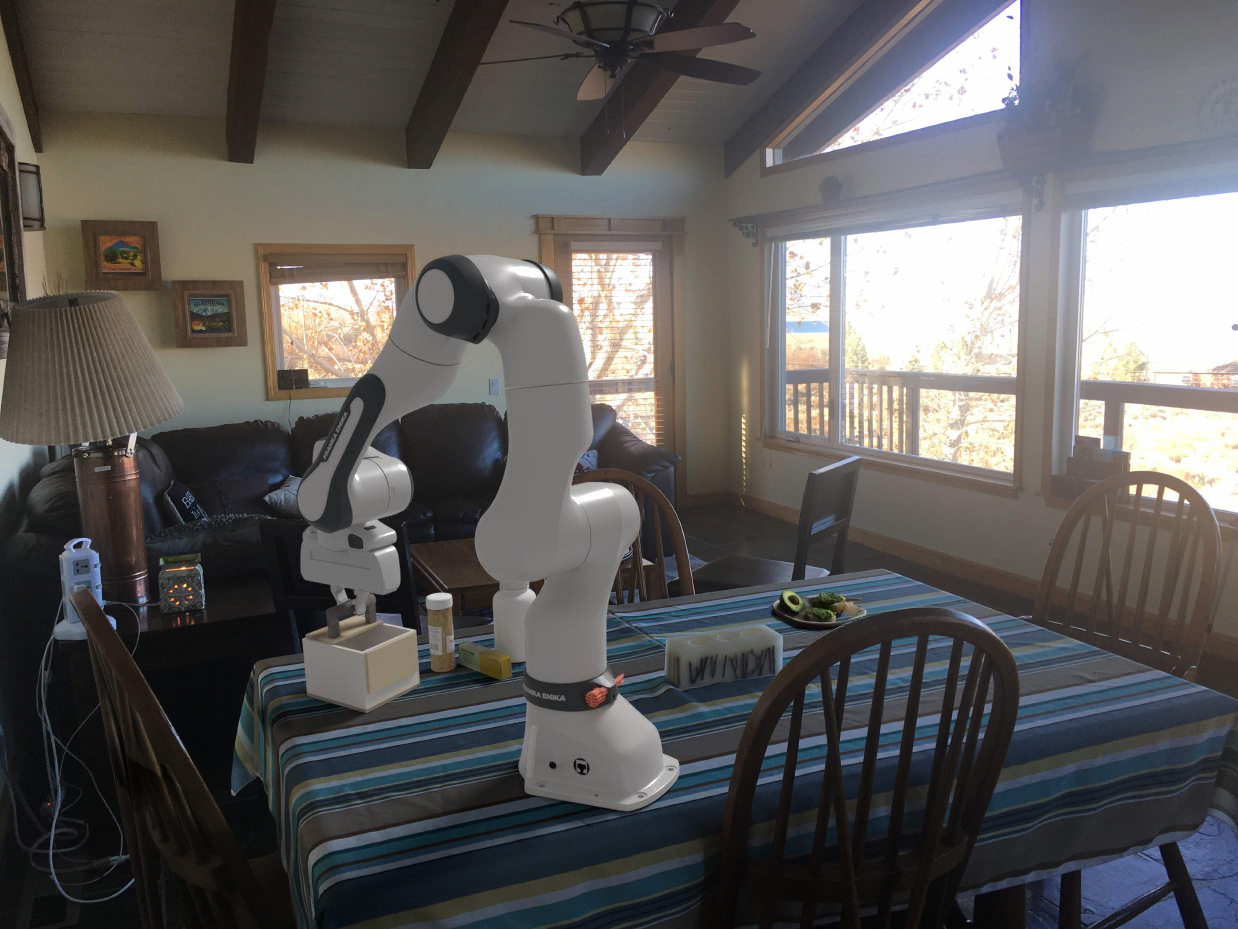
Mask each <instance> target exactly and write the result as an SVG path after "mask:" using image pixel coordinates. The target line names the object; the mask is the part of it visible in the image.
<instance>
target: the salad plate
mask: <svg viewBox="0 0 1238 929" xmlns="http://www.w3.org/2000/svg"><path fill="white" fill-rule="evenodd" d="M771 600H773V601H774V602H773V604H772V609H773V611H774V612H775V614H776V615H777V616H778V617H779V618H780V619H782V620H783V621H785V622H787V623H788V624H791V625H792V626H793V625H794V626H796V627H799V628H804V629H813V630H821V629H822V630H823V629H830V628H831V629H832V628H835V627H841V626H840V625H842V624H845V623H847V622H849V621H851V620H855V619H857V618H859V617H863V616H865V617H866V616H867V614H868V611H867V610H866V609H864V608H862V607H860V606H858V605H855V604H856V603H859V602H862V601H863V598H862V597H846V596H844V593H842V592H841V593H840V594H839V595H838V594H836V593H835V592H832V593H830V592H826V593H825V592H819V594H812V595H807V596H800V595H799V594H797V593H796V592H795V591H793V590H789V589H785V590H783V591H782V592H781V594H780V596H774V597H773V598H771ZM840 615H846V616H849V617H850V618H848V619H847V620H846V619H845V620H840V621H836V620H837V618H836V617H837V616H840ZM842 626H843V625H842Z"/></svg>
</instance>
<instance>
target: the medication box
mask: <svg viewBox="0 0 1238 929" xmlns="http://www.w3.org/2000/svg"><path fill="white" fill-rule="evenodd" d="M457 652H458V663H459V665H461V666H462V667H463V666H464V667H466V668H468V669H470V670H473V671H476V672H479V673H481V674H484V675H486V676H489V677H491V678H494V679H496V680H499V681H504V680H506V679H509V678H512V677H513V670H512V663H511V657H510V656H508V655H505V654H502V653H500V652H497V651H495V649H491V648H488V647H486V646H483V645H481V644H478V643H475V642H473V641H470V640H466V641H463V642H461V643H459V644H457Z"/></svg>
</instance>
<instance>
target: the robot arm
mask: <svg viewBox="0 0 1238 929" xmlns="http://www.w3.org/2000/svg"><path fill="white" fill-rule="evenodd" d="M561 284H562V283H561V282H560V279H559V278H558V275H556V273H555V272H554V271H553V269H551V268H550V267H549V266H546V265H544V264H543V263H540V262H538V261H535V260H532V259H528V258H527V259H525V258H523V259H517V258H512V257H511V258H510V257H506V256H505V257H504V256H499V255H495V254H469V255H468V254H467V255H462V254H450V255H449V254H448V255H444V256H441V257H438V258H435V259H433V260H431V261H429V262H428V263H426V264H424V266H423V268H422V269H421V271H420V272H419V274H418V277H416V278H415V280H414V281H413V282H412V284H411V286H410V287H409V288H408V290H407V292H406V294H405V295H404V298H403V300H402V302H401V304H400V306H399V308H398V310H397V311H396V312H397V313H396V315H395V317H394V320H393V321H392V325H391V328H390V331H389V334H388V336H387V339H386V341H385V343H384V345H383V347H382V349H381V351H380V353H379V354H378V356H377V357H376V359H375V361H374V362H373V363H372V364H371V366H370V367H369V369H368V370H367V371H366V372H365V373H364V375H362V376H361V377H360V378H359V379H358V380H357V381H356V382H355V384H353V386H352V387H351V389H350V390H349V392H348V394H347V396H346V398H345V400H344V401H343V403H342V405H341V407H340V410H339V411H338V414H337V415H336V417H335V420H334V422H333V423H332V426H331V427H330V429H329V432H328V434H327V436H324V437H321V438H319V439H318V440H317V441H316V442H315V443H314V446H313V451H312V464H311V465H310V466H309V467H308V468H307V470H305V472H304V474H303V475H302V477H301V479H300V481H299V483H298V487H297V491H296V496H295V498H296V506H297V511H298V512H299V514H300V516H301V518H302V519H304V521H305V522H306V523H307V524H309V526H308V527H307V528H305V530H304V531H303V532H302V543H301V546H300V574H301V576H302V578H303V579H304V580H305V581H309V582H314V583H318V584H319V583H320V584H324V585H329V586H330V592H331V594H332V596H333V598H334V599H335V601H336V606H337V605H339V604H342V603H345V602H348V601H351V600H352V599H351V598H348V596H347V593H346V591H345V589H346V588H347V589H351V590H353V594H354V596H356V598H355V599H356V601H355V603H352V604H351V608H352V613H351V614H354V615H358V616H361V615H362V614H365V611H366V606H365V602H366V600H367V598H368V596H369V594H370V593H371V594H374V595H375V594H376V595H381V596H383V595H384V596H385V595H388V594H390V593H392V592H396V591H397V590H398V588H399V586H400V584H401V568H400V559H399V553H398V550H397V548H396V547H395V546H394V545H393V544H394V543H396V542H397V540H398V539H397V538H398V536H397V532H396V530H394V529H393V528H391V527H390V526H388V525H386V524H384V523H383V522H381V521H380V520H379V519H382V518H386V517H390V516H394V515H396V514H399V513H400V512H403V511H405V510H406V509H407V508H408V507H409V506H410V504H411V502H412V499H413V496H414V491H415V490H414V488H415V487H414V479H413V474H412V473H411V470H410V468H409V467H408V466H407V465H406V463H405V462H404V461H403V460H401V459H400V458H398V457H396V456H394V455H393V456H390V455H388V454H385V453H384V452H381V451H379V450H378V449H376V448H374V447H373V446H371V444H372V442H373V440H374V439H375V437H376V436H377V435H378V434H379V433H380V431H382V430H383V429H384V428H385V427H387V426H388V425H389V424H391V423H392V422H394V421H396V420H397V419H399V418H402V417H403V416H405V415H408V414H410V413H412V412H414V411H417V410H420V409H421V408H424V407H427V406H430V405H431V404H433V403H435V402H437V401H439V400H441V399H442V398H443V397H444V396H445V395H446V394H447V392H448V391H449V390H450V388H451V387H452V386H453V384H454V383H455V380H456V379H457V377H458V374H459V372H460V369H461V366H462V364H463V360H464V358H465V355H466V352H467V349H468V345H469V343H470V344H473V345H479V344H480V343H482V342H483V341H484V340H486V341H488V342H490V343H492V344H493V345H494V347H495V348H497V351H498V352H499V354H500V357H501V363H502V368H503V369H502V371H503V372H502V373H503V386H504V394H505V406H506V418H507V429H508V433H507V434H508V448H507V449H508V450H507V451H508V452H507V460H506V465H505V469H504V474H503V477H502V481H501V483H500V486H499V488H498V491H497V493H496V496H495V498H494V499H493V501H492V503H491V504H490V506H489V507H488V508H487V509H486V511H485V512H484V513H483V514H482V516H481V517H480V519H479V520H478V522H477V526H476V528H475V535H474V545H475V546H474V547H475V552H476V553H475V554H476V555H477V559H478V561H479V563H480V565H481V567H483V569H484V571H485V572H486V573H487V574H488V575H489V576H490V577H492V578H493V579H494V580H495V581H498V582H499V583H500V582H504V583H514V582H529V583H531V582H537V581H540V580H543V579H544V580H545V581H544V584H543V585H542V587H541V589H540V591H539V593H538V594H537V596H536V598H535V599H534V600H533V602H532V603H531V604H530V606H529V607H528V609H527V611H526V614H525V618H524V634H525V657H526V661H525V667H524V669H523V672H522V673H523V674H522V676H523V677H522V684H523V697H524V699H526V710H525V711H526V714H525V729H524V737H523V743H522V749H521V754H520V757H519V760H518V764H517V765H518V771H519V773H520V775H521V777H522V778H523V779H524V787H523V788H524V792H525V793H526V794H528V795H531V796H538V797H542V798H543V797H544V798H548V799H554V800H559V801H560V800H561V801H565V802H571V803H575V804H576V803H577V804H583V805H586V806H587V805H588V806H594V807H597V808H604V809H605V808H606V809H610V810H616V811H623V812H631V811H634V810H638V809H640V808H643V807H646V806H648V805H650V804H652V803H653V802H655V801H657V799H659V798H660V797H662V796H663V795H664V794H665V793H667V792H668V790H670V789H671V788H672V786H673V785H674V784H675V783H676V781H677V780H678V778H679V776H680V769H681V768H680V762H679V760H678V759H677V758H674V757H672V756H671V755H668V754H666V753H663V747H662V740H661V737H660V733H659V731H658V729H657V727H656V726H655V725H654V724H653V723H652V722H651V721H650V720H648V719H647V718H646V717H645V716H644V715H643V714H642V713H641V712H640V711H639V710H637V709H636V708H635V706H633V705H632V704H631V703H630V702H629V701H628V700H627V699H626V698H625V697H623V696H622V694H620V692H619V691H620V690H619V686H620V685H622V684H623V683H624V682H625V680H624V679H623V678H624V676H625V674H624V673H621V674H620V675H618V676H616V678H615V677H614V673H613V671H612V669H611V667H610V666H611V665H610V664H609V663H608V662H607V615H608V606H609V601H610V597H611V593H612V589H613V585H614V582H615V578H616V577H617V573H618V571H619V567H620V565H621V563H622V560H623V559H624V557H625V555H626V553H627V551H628V549H629V548H630V547H631V546H632V544H633V543H634V542H635V541H636V540H637V537H638V535H639V532H640V530H641V513H640V509H639V505H638V503H637V500H636V499H635V497H634V495H633V494H632V493H631V492H630V491H629V490H628V489H627V488H626V487H624V486H623V485H620V484H618V483H615V482H614V483H613V482H601V481H597V482H596V481H587V482H583V483H577V484H574V485H573V484H572V483H573V478H574V475H575V470H576V469H577V466H578V463H579V461H580V459H581V458H582V457H583V455H584V454H585V453H587V451H588V450H589V448H590V447H591V445H592V442H593V440H594V433H595V432H594V423H593V412H592V404H591V403H592V402H591V392H590V382H589V372H588V364H587V358H586V352H585V349H584V343H583V339H582V335H581V331H580V328H579V324H578V321H577V318H576V316H575V313H574V312H573V311H572V310H571V308H570V307H569V306H567V305H566V304H565V303H564V291H563V288H562V285H561Z"/></svg>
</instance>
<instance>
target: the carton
mask: <svg viewBox="0 0 1238 929" xmlns="http://www.w3.org/2000/svg"><path fill="white" fill-rule="evenodd" d="M417 638H418V637H417V629H412V628H408V627H404V626H398V625H396V624H390V623H387V622H386V623H384V624H382V625H380V626H377V627H375V628H372V629H370V630H367V631H365V632H362V633H360V634H357V635H355V636H352V637H350V638H348V639H345V640H343V641H340V642H338V643H335V644H330V643H326V642H322V641H318V640H314V639H310V638H306V637H304V638H302V639H301V640H302V650H303V652H302V653H303V664H304V672H305V673H304V674H305V685H306V686H305V687H306V695H307V697H310V698H313V699H318V700H320V701H324V702H327V703H330V704H332V705H333V704H334V705H337V706H340V707H344V708H347V709H349V710H350V709H351V710H354V711H358V712H360V713H364V714H368V713H369V712H372V711H373V710H376V709H378V708H380V707H382V706H384V705H386V704H388V703H389V702H392V701H393V700H396V699H397V698H400V697H401V696H403V695H405V694H408V693H410V692H412V691H413V690H415V689H419V687H420V686H421V684H420V683H421V682H420V680H421V679H420V667H419V666H420V665H419V652H418V650H419V649H418V641H417V640H418V639H417Z"/></svg>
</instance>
